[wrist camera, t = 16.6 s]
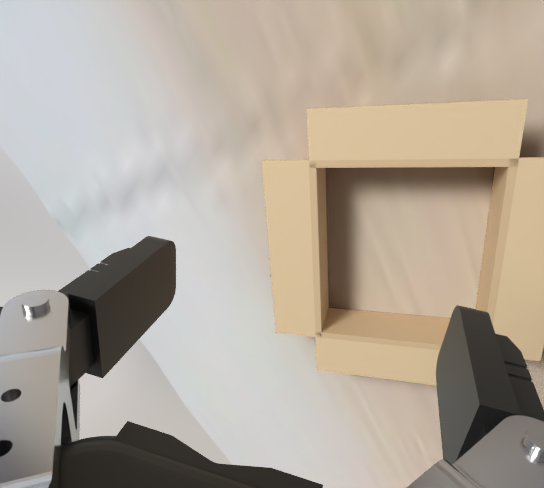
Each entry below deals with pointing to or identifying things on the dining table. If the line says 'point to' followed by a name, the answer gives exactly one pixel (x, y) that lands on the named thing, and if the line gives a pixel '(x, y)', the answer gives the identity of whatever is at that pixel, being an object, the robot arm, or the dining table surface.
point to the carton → (407, 153)
